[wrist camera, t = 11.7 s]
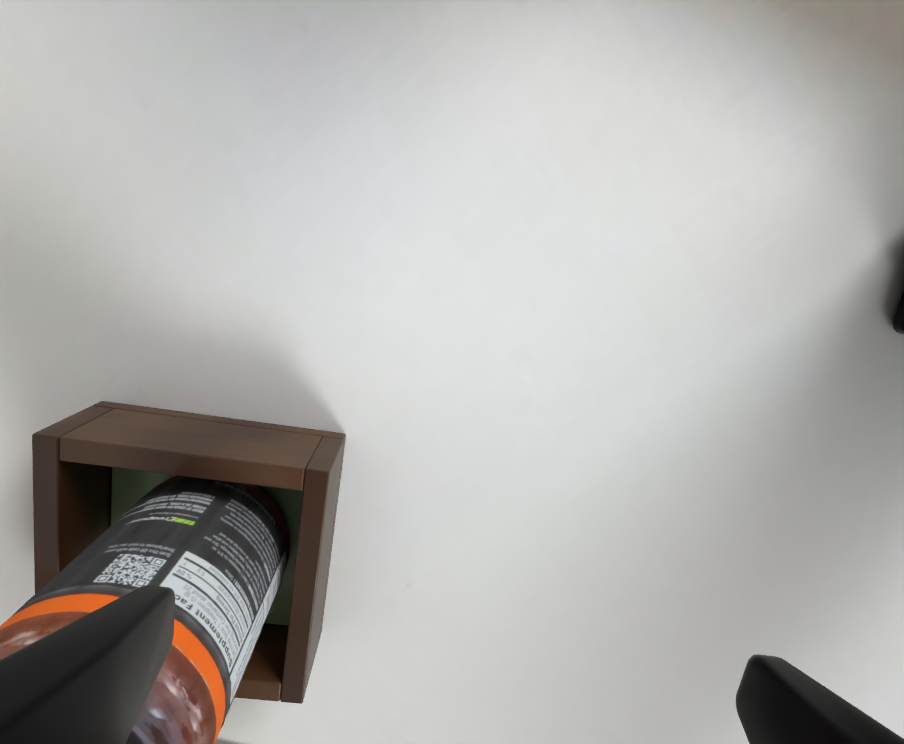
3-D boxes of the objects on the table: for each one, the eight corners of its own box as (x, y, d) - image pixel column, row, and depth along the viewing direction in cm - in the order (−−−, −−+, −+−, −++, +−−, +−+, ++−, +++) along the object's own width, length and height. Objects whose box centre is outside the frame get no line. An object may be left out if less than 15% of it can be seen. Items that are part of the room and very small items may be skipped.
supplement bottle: (180, 622, 21) (-91, 1039, 10) (107, 494, 19) (-302, 815, 8) (319, 574, 21) (202, 944, 10) (257, 441, 19) (37, 699, 8)
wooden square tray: (346, 433, 20) (330, 472, 17) (321, 632, 22) (302, 704, 19) (101, 400, 19) (30, 433, 16) (98, 610, 21) (35, 681, 18)
